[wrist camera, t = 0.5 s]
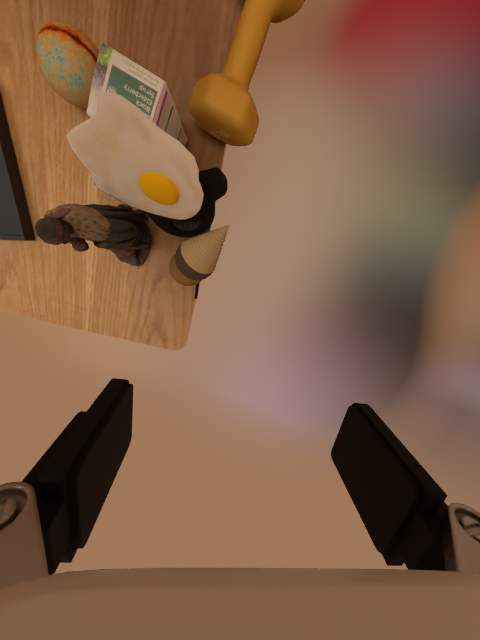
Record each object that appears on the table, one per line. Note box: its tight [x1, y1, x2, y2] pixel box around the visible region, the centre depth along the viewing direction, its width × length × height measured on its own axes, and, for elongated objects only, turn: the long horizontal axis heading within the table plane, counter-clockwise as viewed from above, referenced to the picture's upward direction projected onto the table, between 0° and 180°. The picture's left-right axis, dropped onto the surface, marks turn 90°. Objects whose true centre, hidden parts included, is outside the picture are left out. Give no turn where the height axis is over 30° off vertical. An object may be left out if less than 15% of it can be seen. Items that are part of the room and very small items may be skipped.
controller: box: [145, 167, 227, 237], centre depth 33 cm, size 4×12×10 cm
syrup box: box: [86, 42, 188, 147], centre depth 27 cm, size 6×6×14 cm
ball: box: [36, 21, 99, 108], centre depth 28 cm, size 7×7×7 cm
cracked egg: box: [66, 91, 204, 220], centre depth 25 cm, size 14×13×1 cm
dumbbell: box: [189, 0, 305, 146], centre depth 28 cm, size 19×9×8 cm
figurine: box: [35, 204, 151, 266], centre depth 29 cm, size 8×9×18 cm
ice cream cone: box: [170, 225, 229, 299], centre depth 36 cm, size 7×6×15 cm
